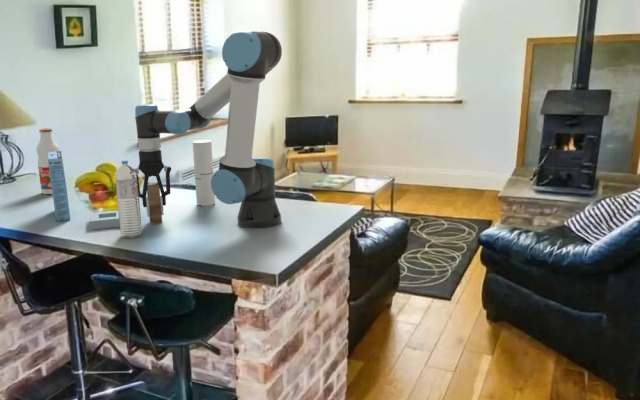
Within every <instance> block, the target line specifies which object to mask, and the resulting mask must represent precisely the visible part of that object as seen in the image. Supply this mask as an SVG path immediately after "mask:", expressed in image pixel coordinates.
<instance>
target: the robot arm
mask: <svg viewBox="0 0 640 400" xmlns="http://www.w3.org/2000/svg"><path fill="white" fill-rule="evenodd" d="M282 49H283V48H282V44H281V42H280V40H279V39H278V38H277V36H275V35H274V34H272V33H270V32H268V31H257V30H256V31H254V30H253V31H252V30H245V29H244V30H241V31H240V30H239V31H236V32H233V33H231V34H230V35H229V36H228V37H227V38H226V39H225V41H224V42H223V46H222V50H221V57H222V60H223V62H224V64H225V66H226V67H227V73H226V74H225V75H224V76H223V77H221V79H219V80H218V81H217V82H216V83H215V84H214V85H213V86H212V87H211V88H210V89H209V90H207V91H206V92H205V93H204V94H203V95H202V96H200V97H199V99H197V100H196V101H195V102H194V103H193V104H191V106H190V107H187V108H182V109H176V110H159V109H158V105H157V104H156V103H155V104H154V103H150V104H149V103H147V104H146V103H145V104H143V103H142V104H137V105H136V106H135V108H134V109H135V110H134V111H135V113H134V114H135V116H134V118H135V124H136V127H135V128H136V133H137V147H138V150H139V151H138V158H139V159H138V160H139V164H138V166H136V167H135V168H133V169H134V170H135V171H136V173H137V186H138V196H139V199H140V198H141V200H142V206H143V208H146V215H147V216H146V217H150V212H149V200H148V196H147V185H148V183H149V177H155V178H156V182H158V184H159V189H160V201H161V213H162V216H164V215H165V213H164V206H166V205H167V201H166V197H167V196H168V195H170V194H171V175H170V174H171V171H172V168H171V166H170V165H165V164H164V162H163V157H162V150H161V149H162V143H161V134H172V135H183V134H184V135H185V134H186V133H188V131H193V130H201V129H203V128H206V127H208V126H209V124H210V123H211V119H212V117H214V116H215V115H216V114H217V113H219V112H220V111H221V110H222V109H224V107H225V106H227V105H228V104H229V105H228V106H229V108H228V118H227V127H226V128H227V130H226V141H225V149H224V150H225V151H224V155H223V156H222V157H221V158H220V159H219V163H218V170H216V171H215V172H214V173H213V176H212V178H211V188H212V191H213V193H214V195H215V198H216V199H217V200H218V201H220V202H221V203H223V204H226V205H234V204H240V203H241V204H240V206H239V210H238V214H237V225H239V226H241V227H244V228H252V229H253V228H255V229H258V228H260V229H261V228H270V227H273V226H277V225H279V224H280V223H281V222H282V217H281V216H282V214H281V212H280V210H279V207H278V206H279V205H278V204H277V201H276V187H275V186H276V183H275V178H276V177H275V170H276V169H275V164H274V160H273V159H272V158H271V157H262V156H253V149H254V139H255V131H256V121H257V110H258V102H259V92H260V84H261V83H262V82H263V81H265V80H266V75H267V74H268V73H270V72H271V71H272V70H273V69H274V68H275V67H277V65H278V64H279V62H280V61H281V59H282V54H283V50H282ZM163 169H164V170H163ZM162 171H164V172H165V188H164V186H163V183H162V179H161V175H160V174H161V173H162ZM140 172H141V173H142V174H143V175H144V177H143V185H142V193H141V188H140V183H139V181H140V180H139V174H140ZM165 189H166V190H165Z"/></svg>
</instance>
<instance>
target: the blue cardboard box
mask: <svg viewBox="0 0 640 400" xmlns="http://www.w3.org/2000/svg"><path fill="white" fill-rule="evenodd" d="M63 161H64V160H63V156H62V151H61V150H59V151H55V152H48V164H49V172H50V179H51V187H52V194H51V195H52V200H53V207H54V214H55V221H56V220H65V221H70V220H71V214H70V213H71V212H70V205H69V196H68V195H69V194H68V190H67V189H68V188H67V182H66V174H65V169H64V168H65V167H64V162H63ZM68 219H69V220H68Z"/></svg>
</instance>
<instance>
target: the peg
mask: <svg viewBox="0 0 640 400" xmlns="http://www.w3.org/2000/svg"><path fill="white" fill-rule="evenodd" d="M146 196H147V197H148V200H149V212H150V217H149V224H150V225H156V224H162V223H163V215H162V213H161V201H160V196H161V192H160V188H159V184H158V182H157V181H154V182H148V185H147V194H146Z"/></svg>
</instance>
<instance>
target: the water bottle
mask: <svg viewBox="0 0 640 400" xmlns="http://www.w3.org/2000/svg"><path fill="white" fill-rule="evenodd" d="M134 169H135V168H133V167H132V166H130V165H129V164H128V160H125V159H123V160H121V166H119V167H118V168H117V170H116V171H115V173H114V179H115V188H116V197H117V198H116V200H117V202H116V203H117V210H118V214H119V222H120V223H119V224H120V227H119V232H120V236H121V237H122V238H124V239H134V238H138V237H140V236H142V234H143V229H142V227H143V226H142V217H141V216H142V215H141V206H140V197H139V196H138V186H137V175H138V174H137V173H136V171H135V170H134Z"/></svg>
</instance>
